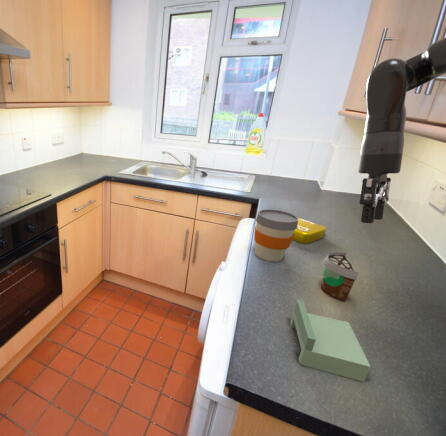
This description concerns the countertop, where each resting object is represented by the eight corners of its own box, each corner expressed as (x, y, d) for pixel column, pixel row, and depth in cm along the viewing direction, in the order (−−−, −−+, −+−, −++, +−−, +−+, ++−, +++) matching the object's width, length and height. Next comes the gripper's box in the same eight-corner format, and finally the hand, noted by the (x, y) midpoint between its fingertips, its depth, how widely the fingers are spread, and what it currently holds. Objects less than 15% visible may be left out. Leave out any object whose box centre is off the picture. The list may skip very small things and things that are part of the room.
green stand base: (343, 335, 68) (352, 311, 66) (363, 382, 57) (376, 354, 54) (290, 323, 72) (297, 299, 69) (299, 364, 61) (308, 337, 58)
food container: (312, 276, 92) (321, 247, 88) (335, 281, 90) (345, 252, 86) (320, 299, 81) (330, 267, 77) (346, 305, 79) (359, 273, 75)
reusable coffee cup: (293, 266, 97) (305, 224, 92) (253, 262, 99) (262, 220, 94) (281, 248, 109) (291, 210, 103) (245, 245, 111) (253, 207, 105)
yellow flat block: (325, 237, 119) (328, 226, 118) (305, 245, 112) (308, 233, 110) (289, 224, 131) (292, 214, 129) (268, 230, 124) (271, 220, 122)
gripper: (395, 150, 62) (385, 226, 65) (408, 153, 71) (399, 220, 73) (351, 152, 68) (343, 222, 71) (368, 154, 77) (361, 216, 79)
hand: (372, 221), depth 72 cm, fingers open, 8 cm apart
